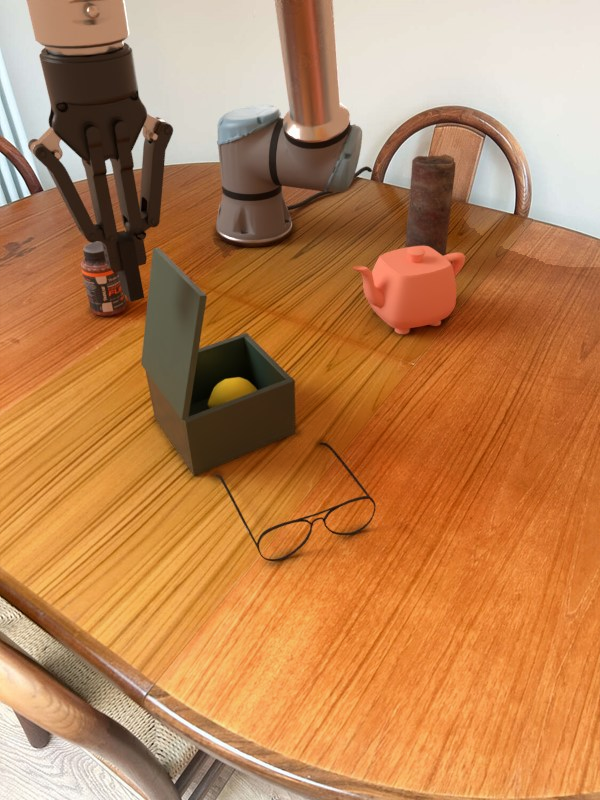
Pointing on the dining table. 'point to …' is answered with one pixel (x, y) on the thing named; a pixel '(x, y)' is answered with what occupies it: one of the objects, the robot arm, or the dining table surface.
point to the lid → (172, 331)
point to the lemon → (230, 391)
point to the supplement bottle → (101, 282)
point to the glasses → (306, 516)
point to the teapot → (412, 286)
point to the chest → (229, 406)
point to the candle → (430, 202)
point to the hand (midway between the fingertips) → (132, 294)
